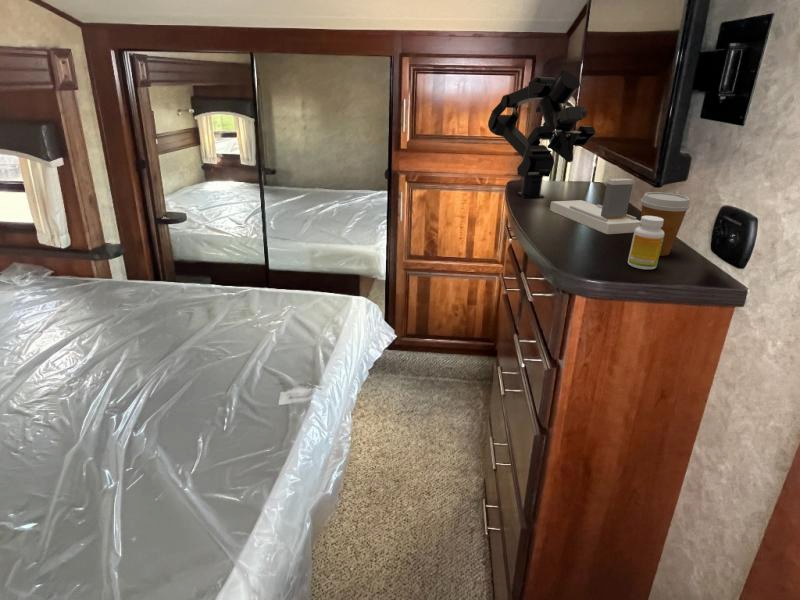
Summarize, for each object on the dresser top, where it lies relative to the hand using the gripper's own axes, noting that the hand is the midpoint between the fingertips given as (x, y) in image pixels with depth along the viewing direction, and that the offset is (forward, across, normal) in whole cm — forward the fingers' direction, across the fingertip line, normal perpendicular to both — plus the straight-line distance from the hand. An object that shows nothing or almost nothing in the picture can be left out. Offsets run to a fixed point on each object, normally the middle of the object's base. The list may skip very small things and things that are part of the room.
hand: (570, 161), depth 142 cm
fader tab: (+21, 0, -7) cm, 23 cm away
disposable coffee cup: (+36, -4, -18) cm, 41 cm away
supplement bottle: (+41, -13, -23) cm, 49 cm away
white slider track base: (+18, 0, 0) cm, 18 cm away
